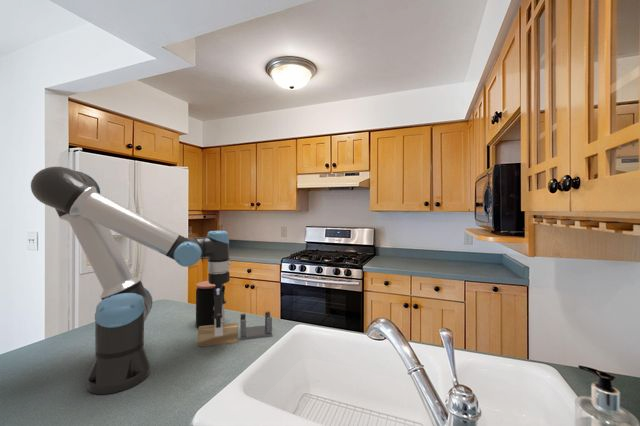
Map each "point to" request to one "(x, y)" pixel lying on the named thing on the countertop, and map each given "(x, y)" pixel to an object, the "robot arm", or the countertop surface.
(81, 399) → the countertop surface
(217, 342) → the block
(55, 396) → the countertop surface
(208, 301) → the coffee jar
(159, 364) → the countertop surface
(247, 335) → the bracket
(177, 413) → the countertop surface
